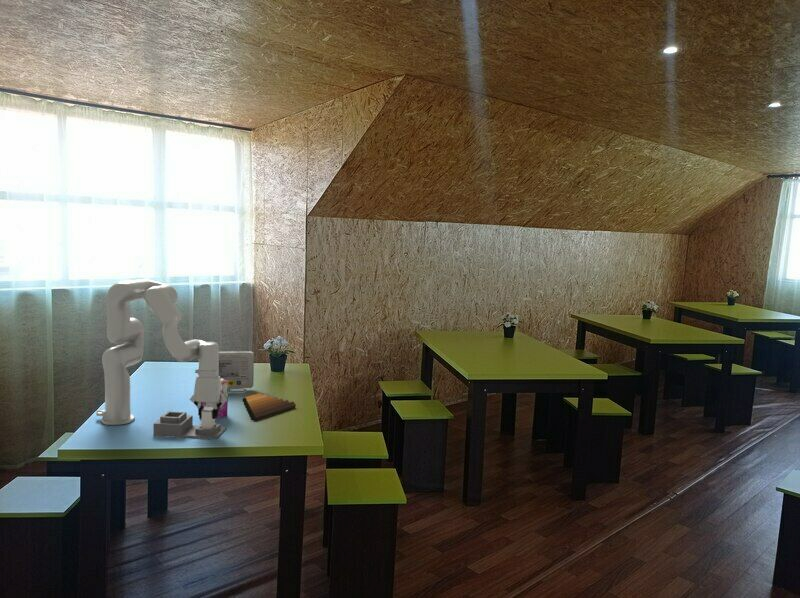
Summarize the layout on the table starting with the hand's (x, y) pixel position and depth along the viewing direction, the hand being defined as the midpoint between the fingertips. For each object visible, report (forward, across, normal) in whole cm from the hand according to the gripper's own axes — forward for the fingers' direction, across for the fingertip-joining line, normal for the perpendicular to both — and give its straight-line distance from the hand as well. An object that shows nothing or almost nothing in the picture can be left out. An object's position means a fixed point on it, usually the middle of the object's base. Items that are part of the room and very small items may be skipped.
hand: (208, 417), depth 235 cm
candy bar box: (+7, -4, +19) cm, 21 cm away
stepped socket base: (+7, -7, 0) cm, 10 cm away
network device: (+7, -11, +60) cm, 61 cm away
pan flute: (+7, +11, +34) cm, 37 cm away
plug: (+6, 0, +1) cm, 6 cm away
